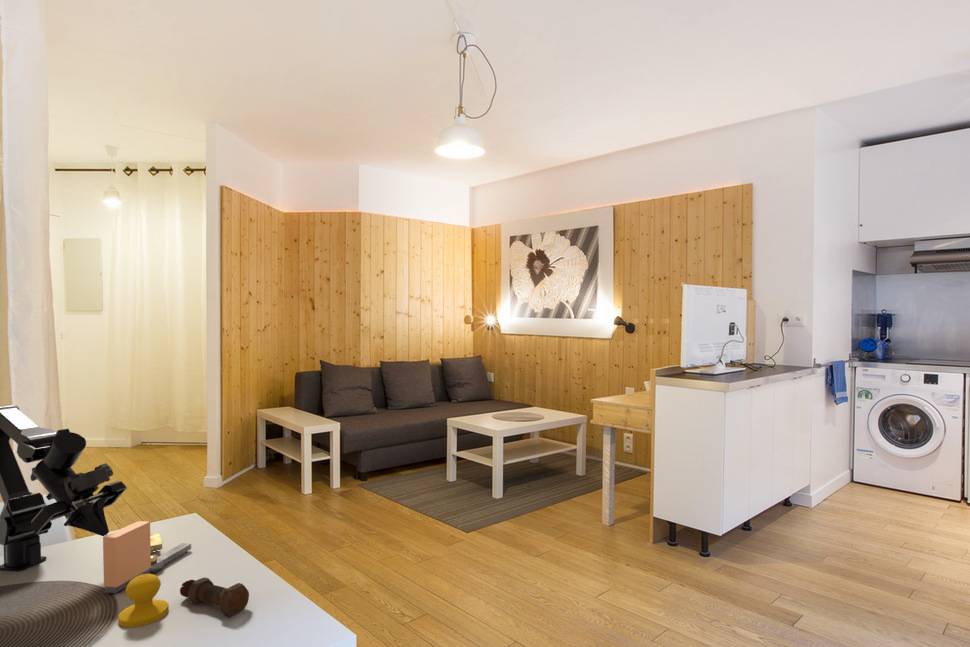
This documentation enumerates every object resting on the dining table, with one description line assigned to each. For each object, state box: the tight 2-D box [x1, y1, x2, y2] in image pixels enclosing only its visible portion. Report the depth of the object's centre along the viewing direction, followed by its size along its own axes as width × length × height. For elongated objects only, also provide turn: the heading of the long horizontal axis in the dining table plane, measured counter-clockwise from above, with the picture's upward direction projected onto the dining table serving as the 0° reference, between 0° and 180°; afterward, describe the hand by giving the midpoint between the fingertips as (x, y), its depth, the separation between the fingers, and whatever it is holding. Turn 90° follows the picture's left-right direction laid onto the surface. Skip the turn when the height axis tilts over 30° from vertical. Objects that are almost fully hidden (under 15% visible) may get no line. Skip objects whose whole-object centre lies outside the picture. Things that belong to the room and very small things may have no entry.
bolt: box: [179, 576, 250, 618], centre depth 107 cm, size 6×5×15 cm
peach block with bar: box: [102, 520, 192, 594], centre depth 122 cm, size 4×22×11 cm, turn 170°
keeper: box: [150, 532, 163, 553], centre depth 131 cm, size 9×5×4 cm, turn 35°
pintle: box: [151, 554, 158, 564], centre depth 122 cm, size 2×2×1 cm
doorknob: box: [117, 573, 170, 628], centre depth 103 cm, size 8×8×8 cm
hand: (106, 534), depth 118 cm, fingers closed
